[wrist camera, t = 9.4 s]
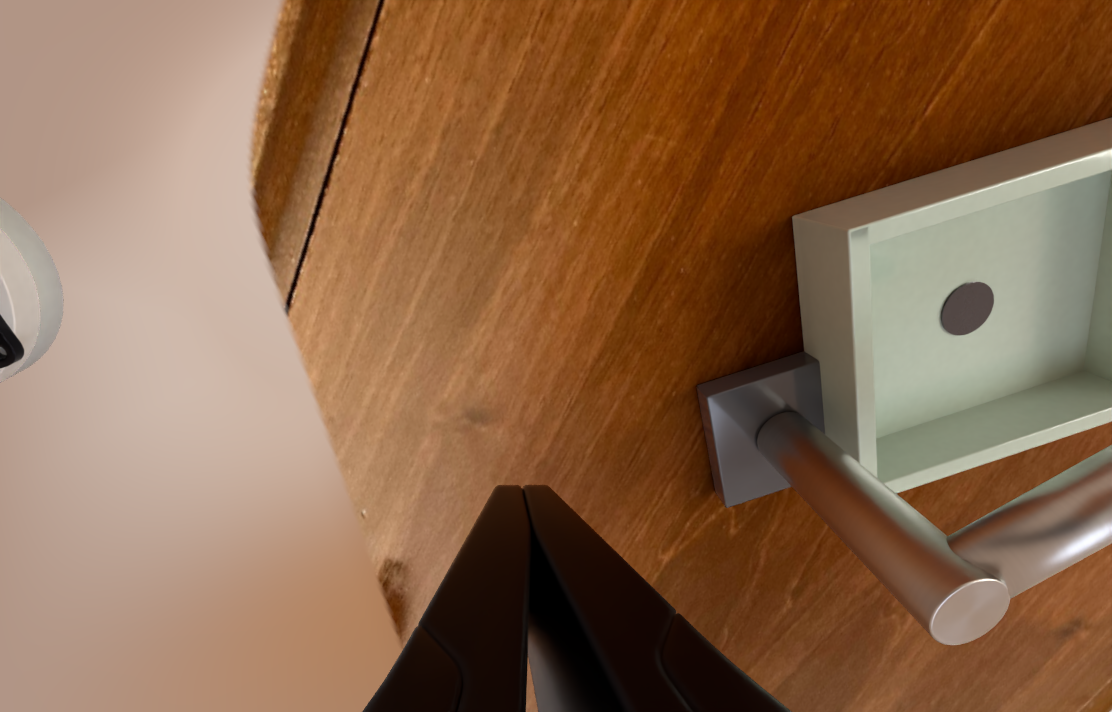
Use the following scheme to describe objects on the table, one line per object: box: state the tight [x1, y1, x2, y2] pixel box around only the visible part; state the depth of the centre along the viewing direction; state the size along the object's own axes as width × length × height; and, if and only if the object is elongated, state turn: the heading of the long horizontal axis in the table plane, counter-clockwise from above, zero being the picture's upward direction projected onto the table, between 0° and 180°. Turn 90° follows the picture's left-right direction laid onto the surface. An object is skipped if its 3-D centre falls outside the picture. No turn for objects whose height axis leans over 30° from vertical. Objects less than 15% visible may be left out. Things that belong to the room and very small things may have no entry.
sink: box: [696, 117, 1112, 508], centre depth 23 cm, size 19×12×4 cm, turn 105°
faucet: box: [757, 412, 1112, 645], centre depth 19 cm, size 13×2×10 cm, turn 121°
